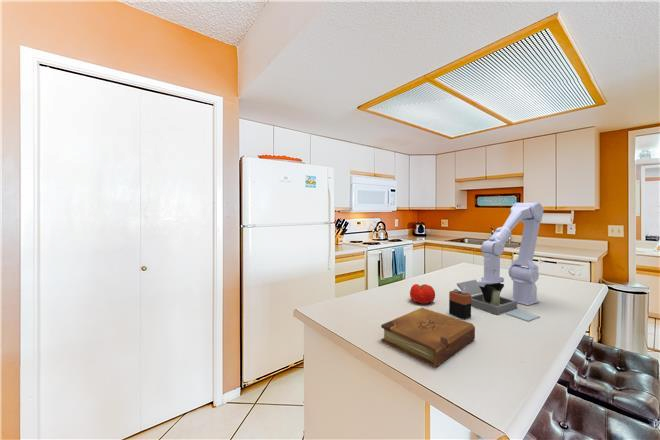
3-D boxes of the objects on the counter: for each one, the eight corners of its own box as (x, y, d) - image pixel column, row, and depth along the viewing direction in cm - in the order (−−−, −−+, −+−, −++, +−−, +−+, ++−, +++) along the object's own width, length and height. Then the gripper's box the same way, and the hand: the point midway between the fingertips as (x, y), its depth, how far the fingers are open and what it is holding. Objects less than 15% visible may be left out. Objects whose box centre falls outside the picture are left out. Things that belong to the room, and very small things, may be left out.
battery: (464, 320, 98) (464, 293, 98) (448, 313, 104) (448, 288, 104) (471, 317, 100) (471, 291, 100) (455, 311, 106) (455, 287, 106)
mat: (517, 310, 107) (517, 309, 107) (539, 317, 100) (539, 316, 100) (505, 314, 103) (505, 313, 103) (528, 321, 96) (528, 320, 96)
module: (489, 303, 115) (489, 286, 114) (499, 307, 111) (500, 289, 110) (482, 305, 112) (482, 288, 112) (493, 309, 108) (493, 291, 108)
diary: (436, 370, 69) (436, 349, 69) (381, 342, 84) (381, 324, 83) (474, 341, 83) (475, 323, 83) (422, 322, 98) (422, 306, 98)
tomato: (408, 304, 115) (408, 287, 115) (411, 296, 125) (411, 281, 125) (435, 307, 111) (435, 290, 111) (435, 299, 121) (435, 283, 121)
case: (475, 295, 125) (475, 279, 125) (517, 308, 109) (517, 289, 109) (455, 300, 119) (455, 283, 119) (496, 315, 103) (497, 295, 102)
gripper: (492, 265, 118) (492, 295, 118) (471, 269, 111) (471, 300, 112) (509, 268, 111) (508, 300, 112) (488, 272, 105) (487, 306, 105)
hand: (491, 300), depth 111 cm, fingers closed on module, 4 cm apart
